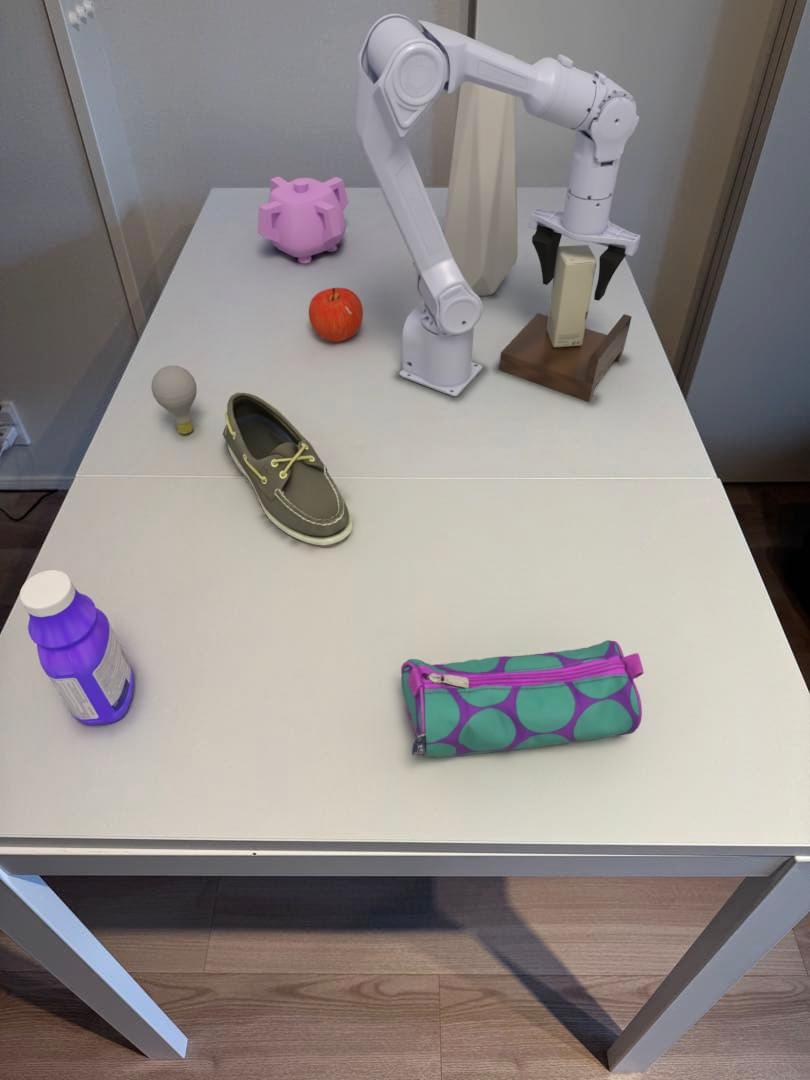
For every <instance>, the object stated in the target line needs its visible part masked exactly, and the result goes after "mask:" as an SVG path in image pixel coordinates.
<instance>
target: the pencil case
mask: <svg viewBox="0 0 810 1080" xmlns="http://www.w3.org/2000/svg"><path fill="white" fill-rule="evenodd" d="M400 672H401V677H400V679H401V690H402V694H403V700H404V702H405V708H406V712H407V716H408V719H409V721H410V725H411V726H412V729H413V730H414V732H415V735H416V738H415V739H414V741H413V744H412V749H411V750H412V751H411V755H412V756H421V755H423V756H424V757H425V758H427V757H434V758H446V757H455V756H463V755H464V756H465V755H473V754H484V753H493V752H499V751H508V750H520V749H529V748H530V749H531V748H532V749H533V748H539V747H544V746H553V745H560V744H567V743H575V742H579V741H587V740H596V739H597V740H598V739H602V738H606V737H620V736H625V735H626V736H627V735H631V734H633V733H635V732H636V731H637V730H638V729H639V727H640V725H641V722H642V718H643V707H642V706H643V705H642V699H641V695H640V692H639V689H638V687H637V685H636V683H635V679H637V678H638V677H641V676H642V675H644V673H645V672H644V668H643V663H642V661H641V656H640V654H639V652H635V653H632V654H628V655H624V652H623V650H622V647H621V645H620V643H618V641H616V640H609V639H607V640H604V641H602V642H601V643H598V644H593V645H591V646H588V647H580V648H576V649H567V650H561V651H551V652H550V651H549V652H543V653H533V654H525V655H512V656H511V655H510V656H509V655H508V656H507V655H505V656H504V655H503V656H493V657H486V658H481V659H469V660H466V661H457V662H450V663H444V664H443V663H439V664H438V663H437V664H430V663H427V662H425V661H423V660H421V659H418V658H409V659H407V660H406V661H404V662H403V663H402V665H401V668H400Z"/></svg>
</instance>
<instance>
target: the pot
mask: <svg viewBox="0 0 810 1080" xmlns="http://www.w3.org/2000/svg"><path fill="white" fill-rule="evenodd" d="M269 182H270V183H269V187H270V191H269V192H270V194H269V197H268V200H267V203H265V204H261V205H258V207H257V208H258V210H257V211H258V215H257V234H258V235H260V236H261V237H263V238H265V239H268V240H269V241H270V242H271V244H272V245H273V246H274V247H275V248H276V249H278V250H279V251H281V252H283V253H285V254H287V255H289V256H291V257H294V258H297V261H298V263H301V264H307V263H310V262H311V261H312V256H314V255H318V254H321V253H323V252H328V253H329V252H330V253H331V252H335V251H337V250H338V246H337V245H338V244H339V243H341V241H342V240H343V238H344V236H345V233H346V229H347V228H346V227H347V226H346V220H345V216H344V211H345V209H346V208H347V207H348V205H349V204H350V203H349V199H348V194H347V190H346V186H345V183H344V180H343V179H342V178H340V177H338V176H334V177H333V178H330V179H328V180H326V181H323V182H322V181H319V180H317V179H314V178H312V177H298V178H295V179H293V180H291V181H287V180H285V179H284V178H282V177H281V176H275V177H273V178H270V179H269Z"/></svg>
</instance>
